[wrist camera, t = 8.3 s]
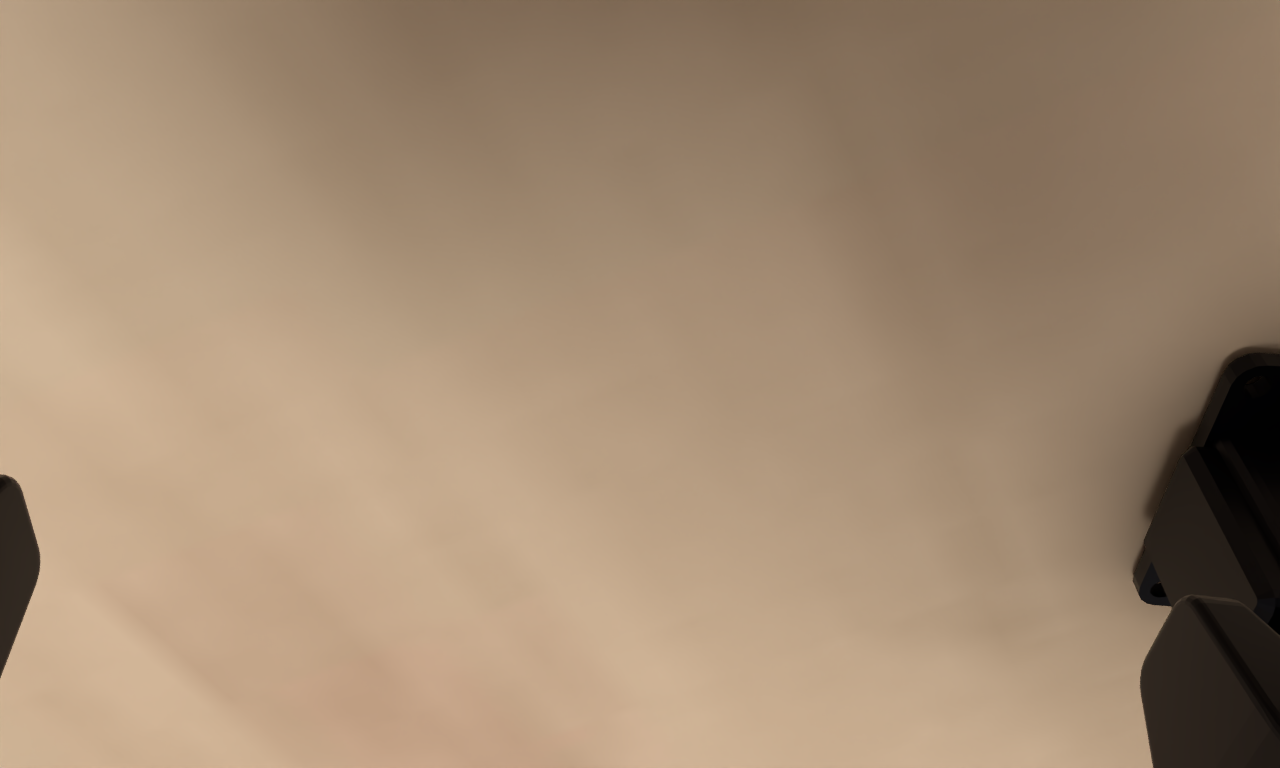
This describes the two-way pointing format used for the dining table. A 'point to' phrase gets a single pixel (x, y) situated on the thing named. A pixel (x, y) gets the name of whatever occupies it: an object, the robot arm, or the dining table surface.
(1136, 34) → the dining table surface
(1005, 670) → the dining table surface
